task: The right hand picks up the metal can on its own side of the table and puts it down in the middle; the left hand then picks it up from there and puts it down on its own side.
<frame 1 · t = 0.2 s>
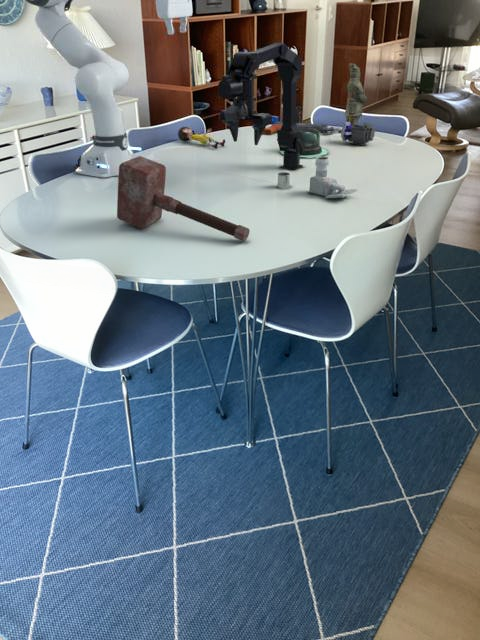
left hand: (177, 33, 183), 48 cm above the table, tool pointing down, fingers open, 8 cm apart
right hand: (245, 143, 190), 14 cm above the table, tool pointing down, fingers open, 9 cm apart
can: (283, 186, 194), on the table
figurine: (200, 144, 252), on the table
statue: (353, 131, 270), on the table
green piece: (303, 152, 236), on the table
toy: (355, 144, 247), on the table
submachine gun: (295, 134, 266), on the table
sledgehammer: (184, 231, 160), on the table
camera: (330, 196, 185), on the table
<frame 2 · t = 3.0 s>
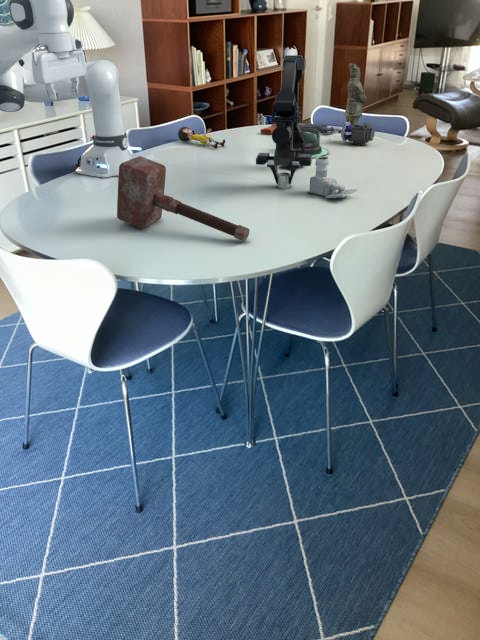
left hand: (64, 96, 163), 34 cm above the table, tool pointing down, fingers open, 8 cm apart
right hand: (283, 184, 194), 1 cm above the table, tool pointing down, fingers closed on can, 4 cm apart
can: (283, 186, 194), on the table, touching right hand
everything else where it was.
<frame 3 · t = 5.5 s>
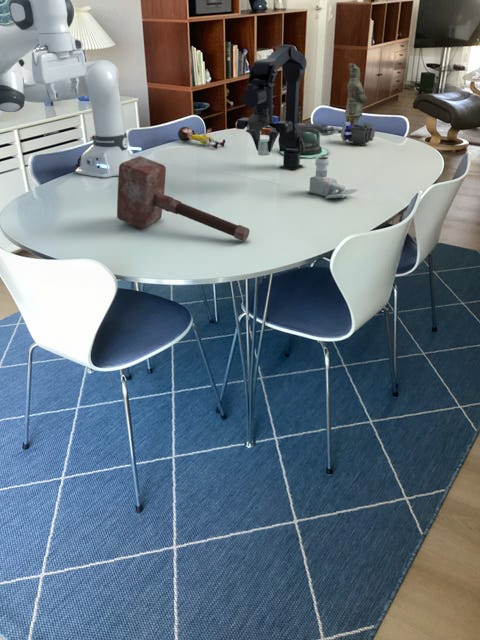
left hand: (64, 96, 163), 34 cm above the table, tool pointing down, fingers open, 8 cm apart
right hand: (263, 151, 190), 12 cm above the table, tool pointing down, fingers closed on can, 4 cm apart
can: (264, 154, 191), point 11 cm above the table, touching right hand
everything else where it was.
when the right hand's fingers open (2 cm above the table, at t = 8.2 s): can stays where it is, on the table.
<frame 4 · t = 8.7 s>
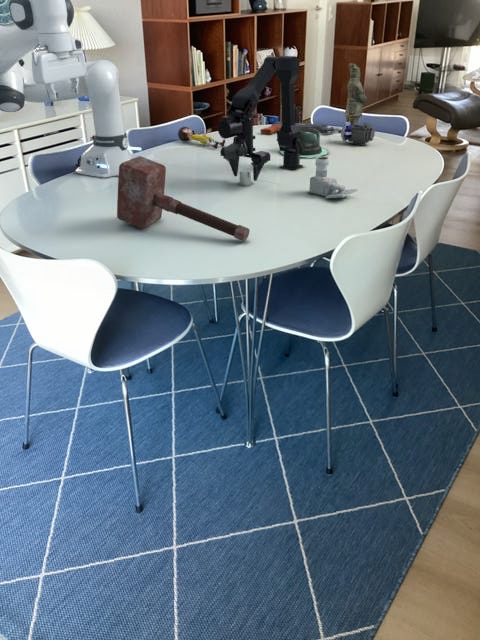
left hand: (64, 96, 163), 34 cm above the table, tool pointing down, fingers open, 8 cm apart
right hand: (245, 178, 197), 2 cm above the table, tool pointing down, fingers open, 9 cm apart
can: (245, 183, 198), on the table
everything else where it was.
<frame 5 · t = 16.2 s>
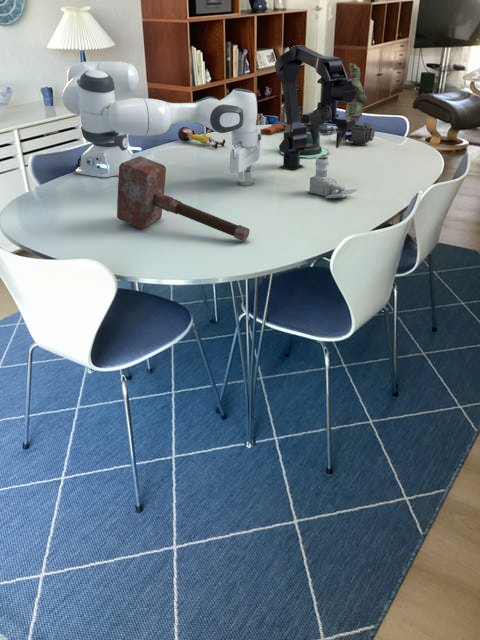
left hand: (245, 179, 198), 2 cm above the table, tool pointing down, fingers closed on can, 4 cm apart
right hand: (326, 146, 194), 12 cm above the table, tool pointing down, fingers open, 9 cm apart
can: (245, 183, 198), on the table, touching left hand
everything else where it was.
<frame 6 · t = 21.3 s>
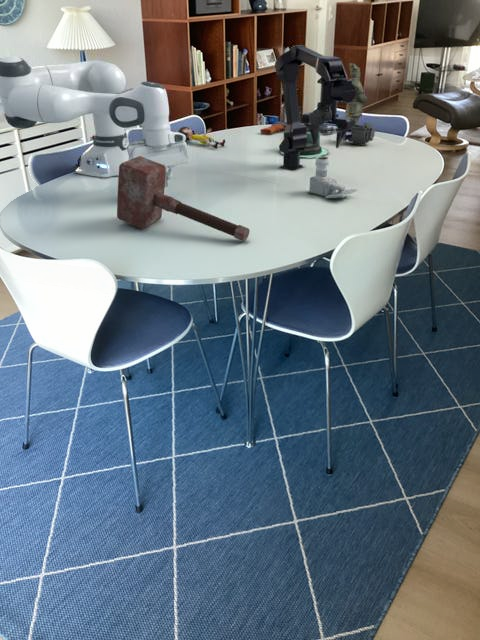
left hand: (161, 180, 182), 6 cm above the table, tool pointing down, fingers closed on can, 4 cm apart
right hand: (326, 146, 194), 12 cm above the table, tool pointing down, fingers open, 9 cm apart
can: (161, 186, 183), point 5 cm above the table, touching left hand
everything else where it was.
when the left hand's fingers open (3 cm above the table, at t = 26.8 s): can stays where it is, on the table.
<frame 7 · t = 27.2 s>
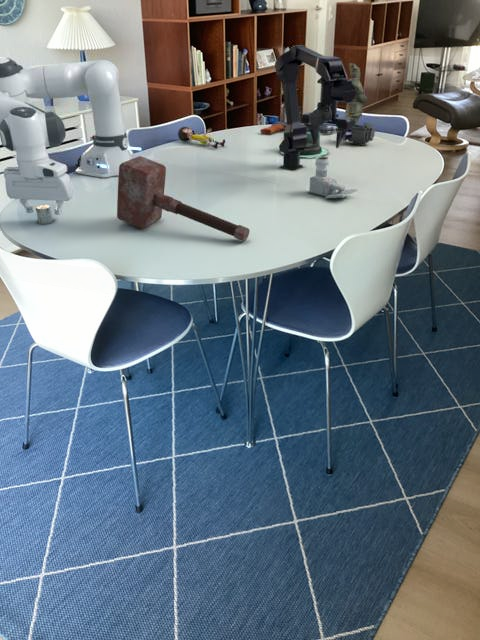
left hand: (44, 213, 168), 3 cm above the table, tool pointing down, fingers open, 8 cm apart
right hand: (326, 146, 194), 12 cm above the table, tool pointing down, fingers open, 9 cm apart
can: (45, 221, 169), on the table
everything else where it was.
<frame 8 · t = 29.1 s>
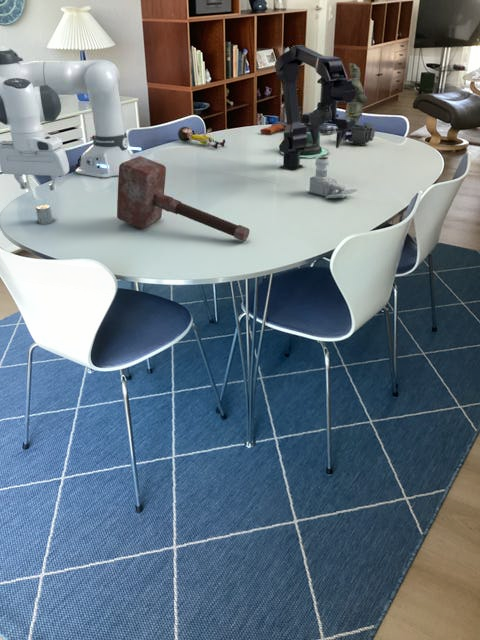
left hand: (39, 189, 164), 10 cm above the table, tool pointing down, fingers open, 8 cm apart
right hand: (326, 146, 194), 12 cm above the table, tool pointing down, fingers open, 9 cm apart
nothing on the table moved.
at the end: can inside the target area (0.0 cm from its centre), on the table; can tilted 0°; the two hands never held the can at the same time; the left hand is holding nothing; the right hand is holding nothing; can at rest at the end (0.0 cm/s) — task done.
